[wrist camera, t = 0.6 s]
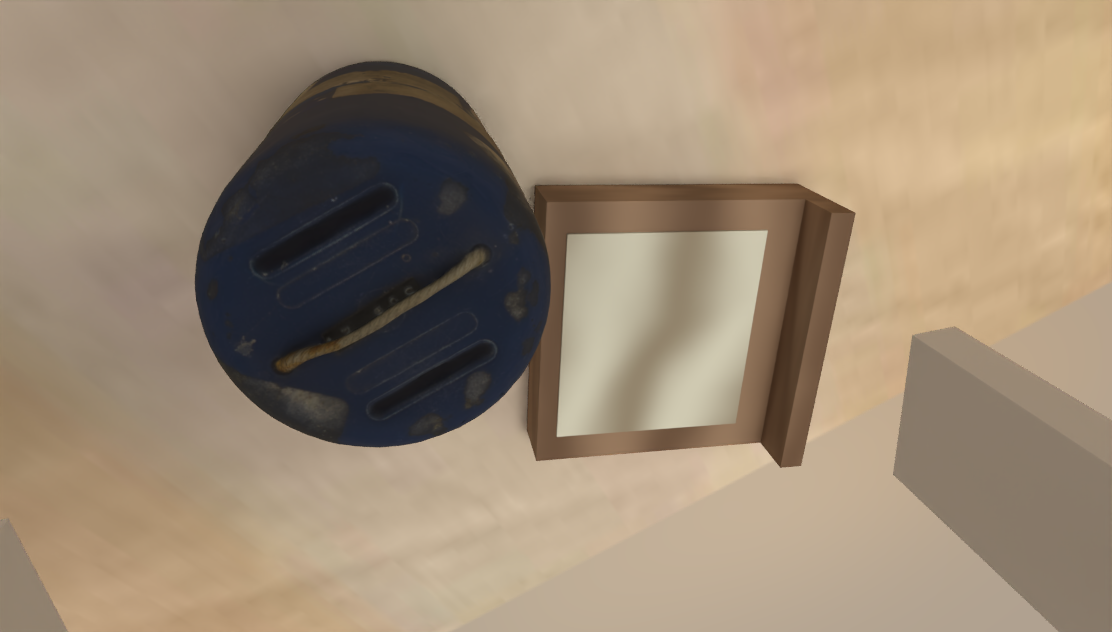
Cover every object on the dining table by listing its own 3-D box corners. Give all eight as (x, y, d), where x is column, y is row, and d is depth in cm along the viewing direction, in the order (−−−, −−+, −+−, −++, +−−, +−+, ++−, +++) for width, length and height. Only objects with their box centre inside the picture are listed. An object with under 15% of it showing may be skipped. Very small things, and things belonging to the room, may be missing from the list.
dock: (527, 430, 42) (544, 488, 37) (535, 185, 36) (557, 217, 31) (756, 413, 45) (801, 465, 40) (797, 183, 39) (855, 212, 34)
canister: (510, 231, 37) (604, 427, 21) (323, 285, 36) (270, 533, 20) (456, 31, 33) (521, 83, 16) (243, 87, 32) (92, 199, 16)
